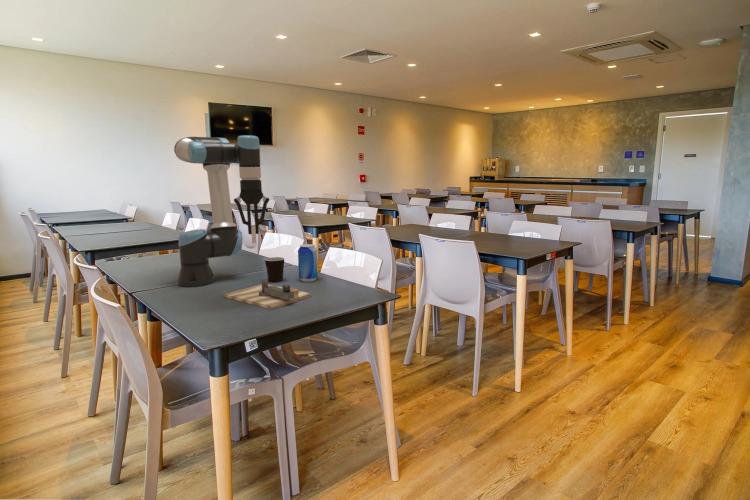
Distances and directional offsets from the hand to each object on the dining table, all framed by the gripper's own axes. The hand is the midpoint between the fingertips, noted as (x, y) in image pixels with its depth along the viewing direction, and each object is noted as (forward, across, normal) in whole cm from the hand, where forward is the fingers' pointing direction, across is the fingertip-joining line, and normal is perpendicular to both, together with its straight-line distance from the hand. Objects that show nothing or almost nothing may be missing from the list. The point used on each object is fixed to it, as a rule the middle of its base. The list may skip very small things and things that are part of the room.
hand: (254, 242), depth 163 cm
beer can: (+23, -23, -26) cm, 41 cm away
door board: (+22, -3, -2) cm, 23 cm away
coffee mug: (+23, -9, -30) cm, 39 cm away
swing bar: (+20, -8, +5) cm, 22 cm away
